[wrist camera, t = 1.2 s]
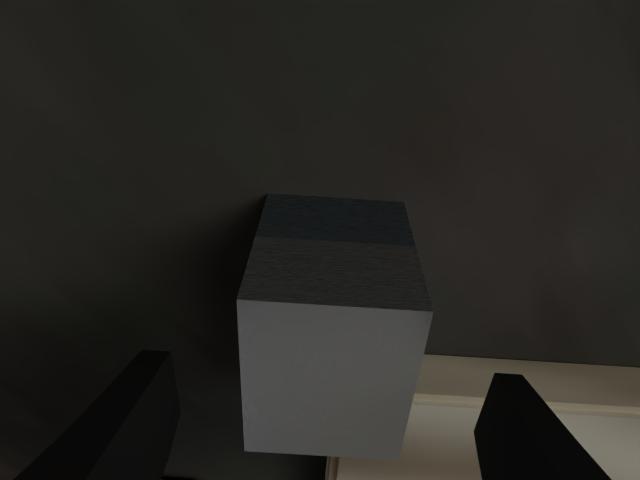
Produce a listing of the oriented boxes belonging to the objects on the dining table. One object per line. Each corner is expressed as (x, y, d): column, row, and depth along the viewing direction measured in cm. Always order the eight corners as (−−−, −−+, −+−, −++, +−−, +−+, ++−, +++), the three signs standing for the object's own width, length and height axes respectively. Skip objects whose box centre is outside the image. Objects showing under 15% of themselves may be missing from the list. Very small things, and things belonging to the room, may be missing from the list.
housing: (382, 328, 16) (398, 460, 12) (269, 321, 16) (244, 451, 12) (403, 200, 14) (433, 311, 9) (268, 192, 14) (236, 299, 9)
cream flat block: (605, 508, 21) (628, 556, 20) (323, 491, 21) (322, 537, 20) (698, 371, 17) (739, 418, 15) (338, 348, 17) (337, 393, 15)
